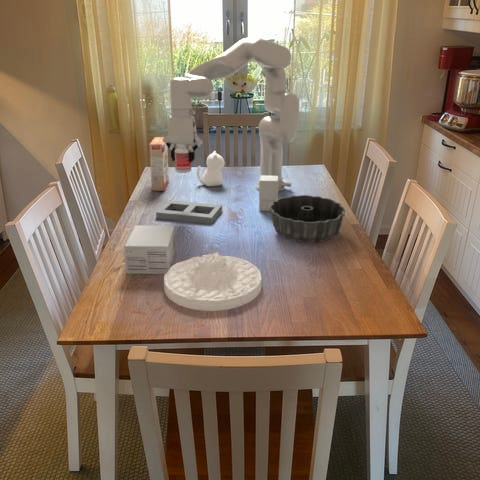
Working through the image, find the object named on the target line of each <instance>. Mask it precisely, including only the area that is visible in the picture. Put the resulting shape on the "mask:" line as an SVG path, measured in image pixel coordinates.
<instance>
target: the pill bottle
mask: <svg viewBox="0 0 480 480" xmlns="http://www.w3.org/2000/svg"><path fill="white" fill-rule="evenodd" d="M189 152H190V149H189V146H188V145H186V144H176V146H175V161H174V170H175V172H176V173H179V174H188V173H190V172H192V162H189Z"/></svg>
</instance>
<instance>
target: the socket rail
mask: <svg viewBox="0 0 480 480" xmlns="http://www.w3.org/2000/svg"><path fill="white" fill-rule="evenodd" d="M174 209H176V210H174ZM222 212H223V204H214V203H201V202H191V201H182V200H181V201H180V200H168V201H166V203H165V204H163V205H162V206H161V207H160V208H159V209H157V211H156V212H155V218H156V219H157V218H158V219H159V220H160V219H161V220H169V221H178V222H187V223H188V222H189V223H199V224H206V225H207V224H209V225H213V223H214V222H215V220H216V219H217V218H218V217H219V216H220V215H221V214H222Z"/></svg>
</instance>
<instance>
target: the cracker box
mask: <svg viewBox="0 0 480 480" xmlns="http://www.w3.org/2000/svg"><path fill="white" fill-rule="evenodd" d="M164 137H165V136H162V137H161V136H155V137H154V138H153V139H152V141H151V142H149V159H150V160H149V162H150V178H151V179H150V181H151V191H153V192H164V191H165V190H166V188H167V186H168V185H169V182H170V181H169V179H170V178H169V157H168V156H169V155H168V151H169V150H168V146H167V145H166V144H165V143H164V142H163V141H162V139H163V138H164ZM168 181H169V182H168Z"/></svg>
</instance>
